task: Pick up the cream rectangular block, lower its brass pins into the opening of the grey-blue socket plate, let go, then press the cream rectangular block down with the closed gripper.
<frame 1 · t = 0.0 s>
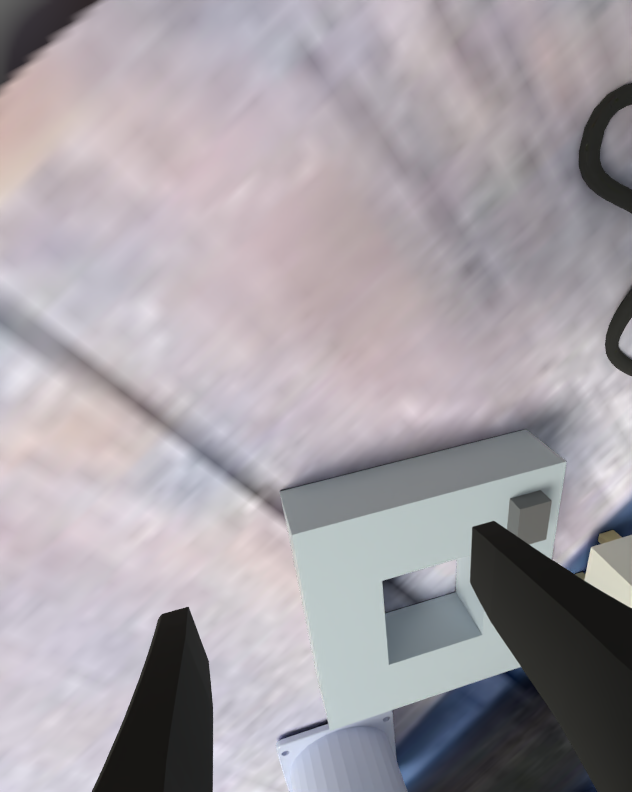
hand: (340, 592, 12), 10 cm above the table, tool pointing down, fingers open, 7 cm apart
socket plate: (412, 566, 27), on the table
cream rectangular block: (601, 555, 31), on the table
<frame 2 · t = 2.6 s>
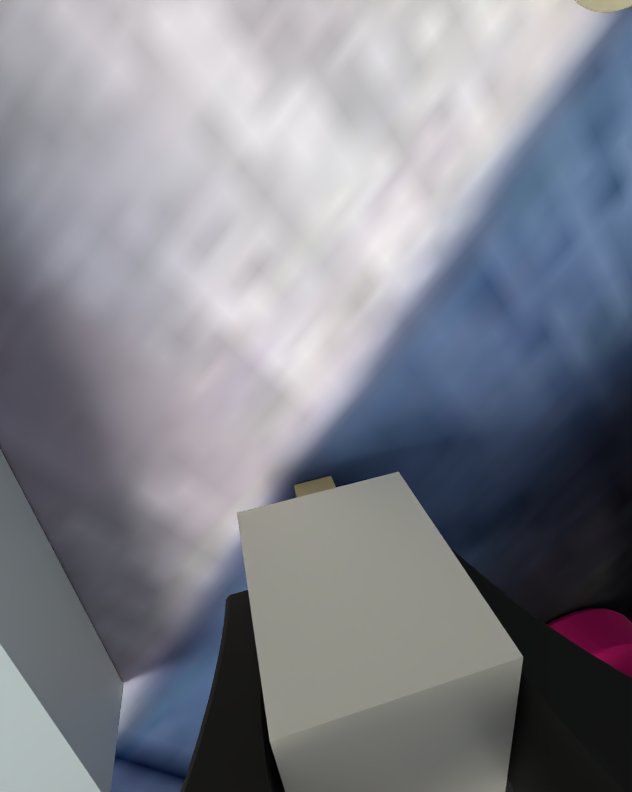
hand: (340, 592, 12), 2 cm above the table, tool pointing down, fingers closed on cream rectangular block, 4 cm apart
pepper mill: (558, 656, 20), on the table
cream rectangular block: (321, 539, 13), on the table, touching gripper
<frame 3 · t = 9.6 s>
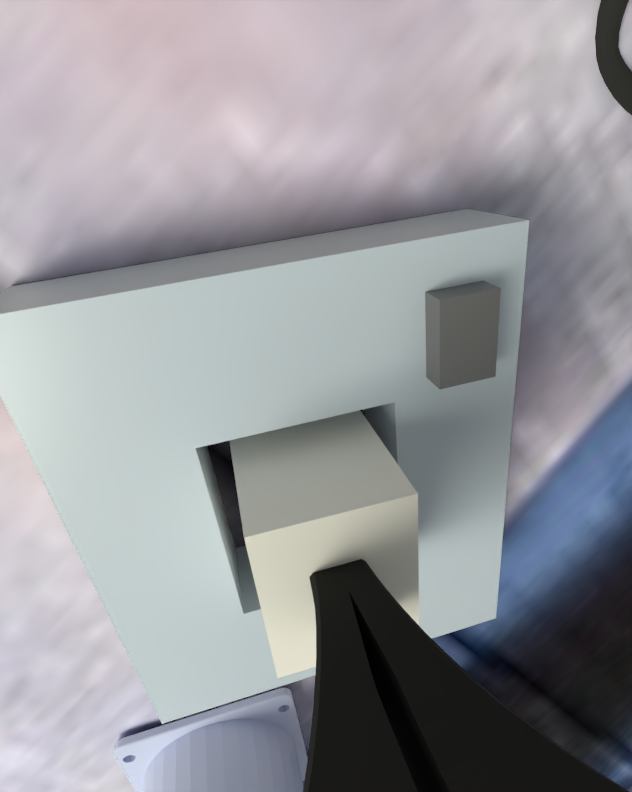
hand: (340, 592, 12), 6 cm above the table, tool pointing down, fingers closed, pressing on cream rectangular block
socket plate: (293, 461, 17), on the table
cream rectangular block: (294, 458, 17), resting in socket plate, touching gripper
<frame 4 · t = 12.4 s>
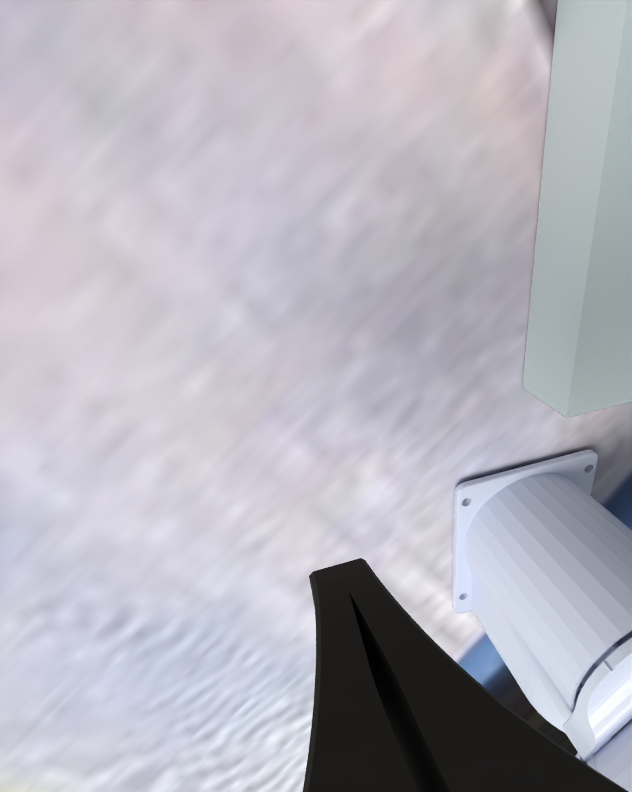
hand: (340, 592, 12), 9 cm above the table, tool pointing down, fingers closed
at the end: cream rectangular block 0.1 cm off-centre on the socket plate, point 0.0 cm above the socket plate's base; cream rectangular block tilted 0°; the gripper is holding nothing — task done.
